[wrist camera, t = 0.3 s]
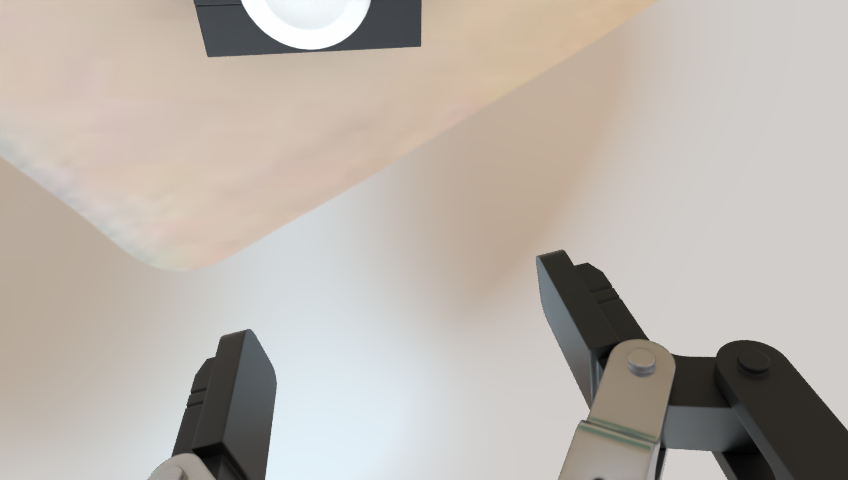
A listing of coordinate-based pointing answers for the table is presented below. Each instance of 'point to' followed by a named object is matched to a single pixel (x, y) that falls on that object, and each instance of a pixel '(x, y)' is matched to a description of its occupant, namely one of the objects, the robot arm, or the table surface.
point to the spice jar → (307, 20)
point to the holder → (239, 35)
